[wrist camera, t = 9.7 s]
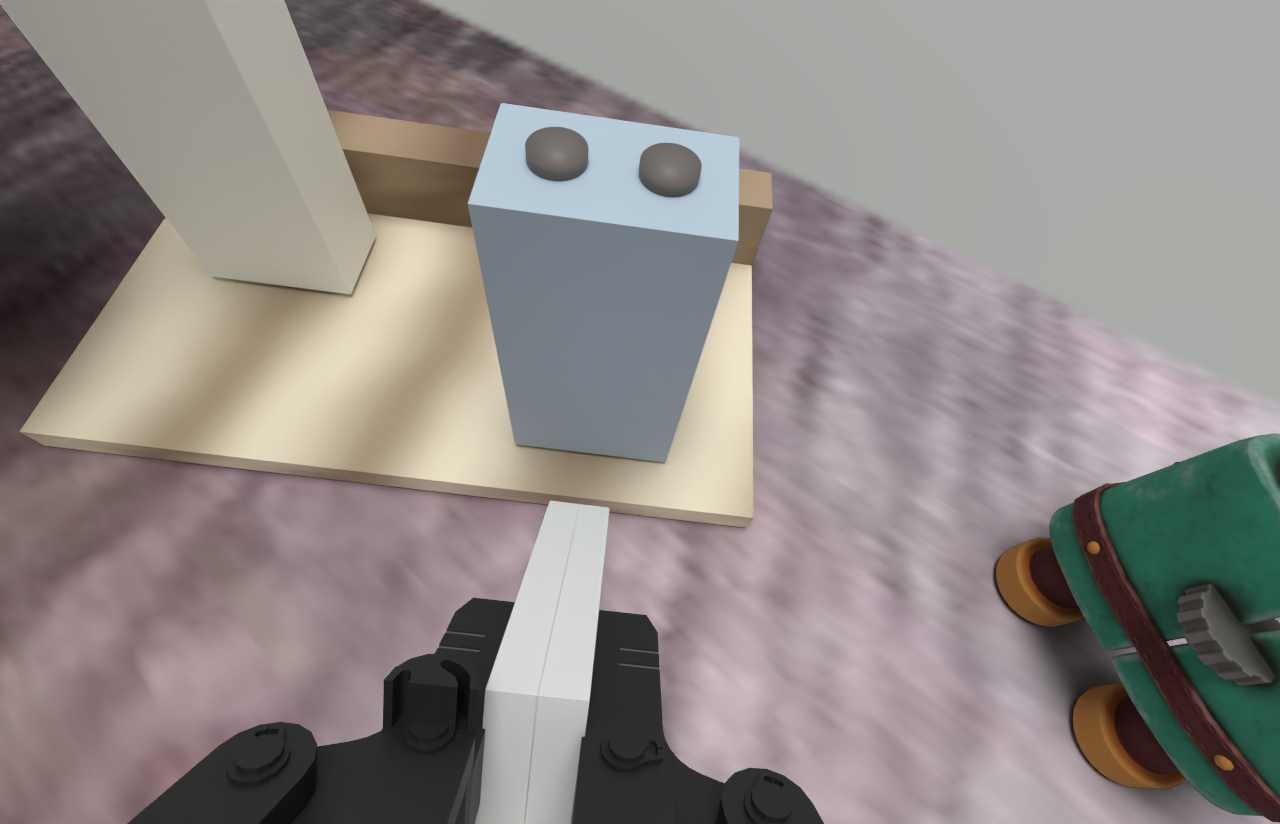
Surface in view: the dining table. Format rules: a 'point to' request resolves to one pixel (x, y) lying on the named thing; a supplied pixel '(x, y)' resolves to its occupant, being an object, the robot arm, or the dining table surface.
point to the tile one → (215, 129)
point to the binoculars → (1174, 621)
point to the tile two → (602, 272)
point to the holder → (387, 360)
